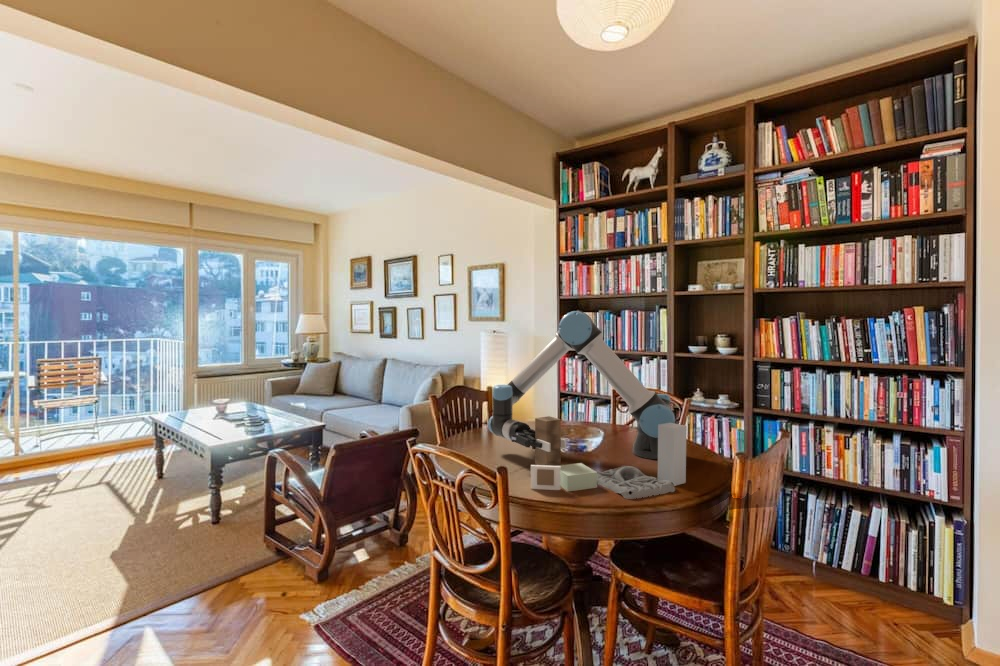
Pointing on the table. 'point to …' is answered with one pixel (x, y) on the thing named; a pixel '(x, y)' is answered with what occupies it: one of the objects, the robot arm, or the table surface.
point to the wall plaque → (633, 482)
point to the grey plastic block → (672, 453)
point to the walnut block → (548, 440)
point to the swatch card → (545, 477)
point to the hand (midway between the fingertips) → (557, 446)
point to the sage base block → (577, 477)
